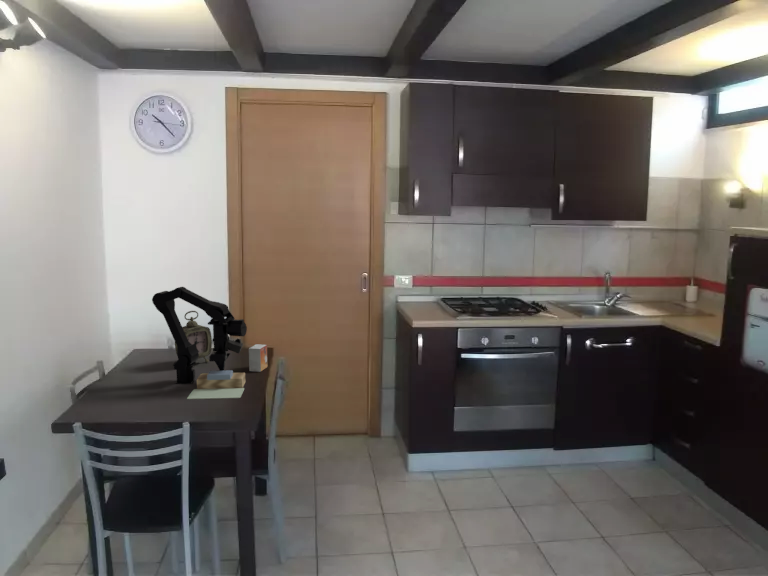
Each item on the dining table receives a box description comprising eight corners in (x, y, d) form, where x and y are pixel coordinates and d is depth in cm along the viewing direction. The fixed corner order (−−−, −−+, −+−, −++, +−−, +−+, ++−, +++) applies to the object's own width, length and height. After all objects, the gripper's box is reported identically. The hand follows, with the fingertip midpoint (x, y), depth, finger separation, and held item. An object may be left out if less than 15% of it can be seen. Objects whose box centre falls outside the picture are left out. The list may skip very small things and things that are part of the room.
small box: (260, 372, 259) (260, 349, 257) (249, 371, 260) (248, 348, 258) (267, 367, 267) (267, 344, 265) (256, 366, 268) (255, 343, 266)
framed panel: (197, 388, 236) (196, 379, 235) (201, 382, 244) (201, 373, 243) (242, 388, 237) (242, 378, 237) (245, 381, 245) (245, 372, 245)
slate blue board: (207, 379, 235) (207, 375, 235) (210, 375, 241) (210, 370, 241) (230, 379, 236) (230, 374, 235) (232, 374, 241) (232, 370, 241)
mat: (186, 399, 224) (186, 398, 224) (193, 389, 235) (193, 389, 235) (240, 398, 226) (240, 397, 226) (244, 388, 237) (244, 388, 237)
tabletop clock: (184, 369, 262) (181, 314, 259) (173, 365, 268) (170, 311, 264) (212, 362, 273) (210, 309, 269) (201, 359, 279) (199, 307, 275)
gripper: (237, 340, 231) (238, 378, 233) (244, 329, 249) (245, 365, 252) (208, 341, 230) (210, 379, 232) (217, 330, 248) (218, 365, 251)
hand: (222, 372), depth 242 cm, fingers closed
